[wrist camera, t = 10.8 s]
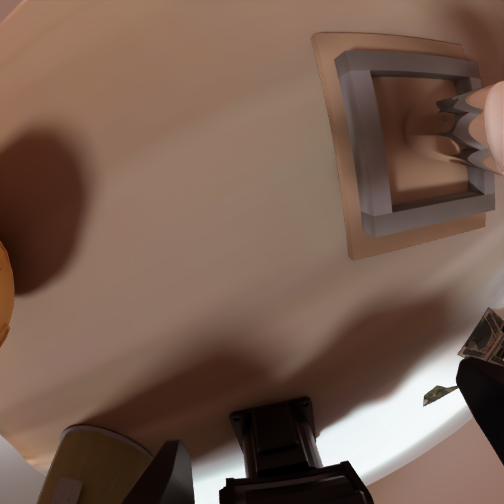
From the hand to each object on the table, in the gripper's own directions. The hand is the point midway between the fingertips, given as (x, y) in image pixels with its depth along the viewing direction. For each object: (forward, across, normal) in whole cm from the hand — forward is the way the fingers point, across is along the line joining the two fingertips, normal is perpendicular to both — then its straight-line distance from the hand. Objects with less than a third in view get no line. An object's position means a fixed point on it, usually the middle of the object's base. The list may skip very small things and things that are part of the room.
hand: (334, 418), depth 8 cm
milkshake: (+11, -11, -7) cm, 17 cm away
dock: (+12, -11, -7) cm, 18 cm away
